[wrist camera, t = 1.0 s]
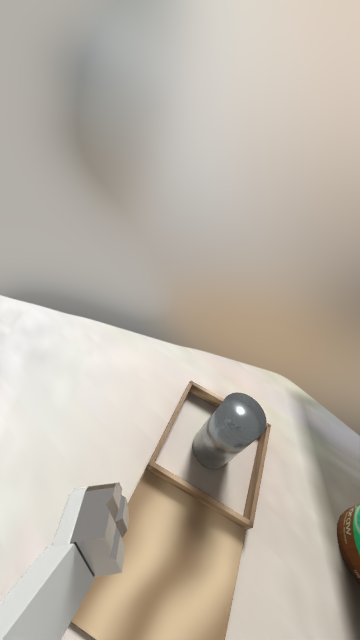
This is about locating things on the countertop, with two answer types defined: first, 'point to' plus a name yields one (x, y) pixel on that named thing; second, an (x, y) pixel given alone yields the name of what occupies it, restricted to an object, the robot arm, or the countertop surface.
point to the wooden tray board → (173, 557)
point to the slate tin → (229, 430)
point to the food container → (350, 539)
